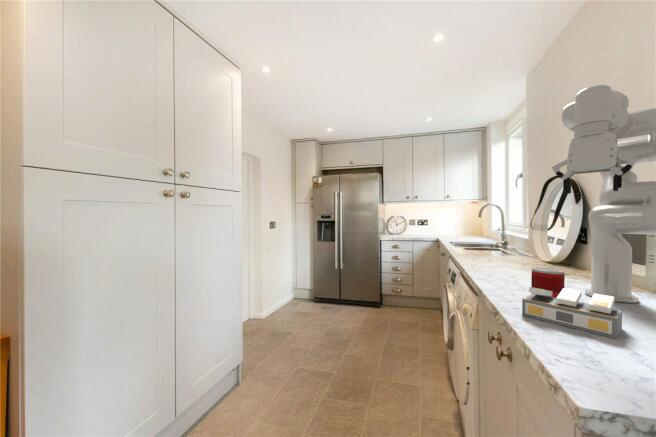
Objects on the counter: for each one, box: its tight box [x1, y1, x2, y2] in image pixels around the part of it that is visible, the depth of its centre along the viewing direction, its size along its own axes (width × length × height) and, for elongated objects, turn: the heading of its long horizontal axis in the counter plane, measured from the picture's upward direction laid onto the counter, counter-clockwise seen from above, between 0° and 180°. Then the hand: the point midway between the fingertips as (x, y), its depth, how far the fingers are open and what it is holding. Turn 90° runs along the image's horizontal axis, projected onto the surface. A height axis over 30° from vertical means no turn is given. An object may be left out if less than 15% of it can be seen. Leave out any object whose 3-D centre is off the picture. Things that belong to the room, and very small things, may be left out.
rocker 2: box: [557, 287, 582, 307], centre depth 70 cm, size 7×4×2 cm, turn 127°
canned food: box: [530, 266, 566, 298], centre depth 84 cm, size 8×8×11 cm
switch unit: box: [521, 293, 623, 340], centre depth 70 cm, size 9×18×5 cm, turn 37°
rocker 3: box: [588, 293, 616, 314], centre depth 65 cm, size 7×4×2 cm, turn 127°
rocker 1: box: [528, 286, 552, 296], centre depth 74 cm, size 7×4×2 cm, turn 128°
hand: (590, 192), depth 76 cm, fingers open, 9 cm apart
